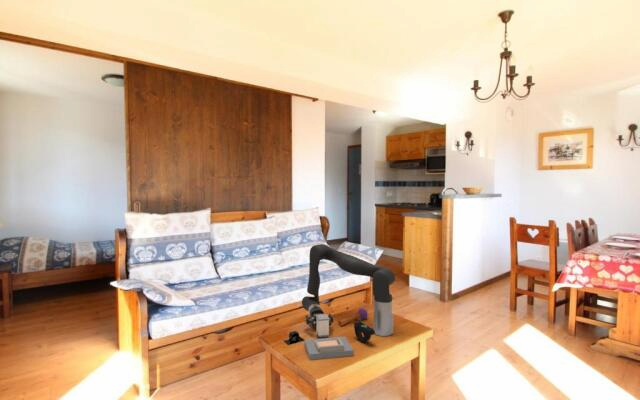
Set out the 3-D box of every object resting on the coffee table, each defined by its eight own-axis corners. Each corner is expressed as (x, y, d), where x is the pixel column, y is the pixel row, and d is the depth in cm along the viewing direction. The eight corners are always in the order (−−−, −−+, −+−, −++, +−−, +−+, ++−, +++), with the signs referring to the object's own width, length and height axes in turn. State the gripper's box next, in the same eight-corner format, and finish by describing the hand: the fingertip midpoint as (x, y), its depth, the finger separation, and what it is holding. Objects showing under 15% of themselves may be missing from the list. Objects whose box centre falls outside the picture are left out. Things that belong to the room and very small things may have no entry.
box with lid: (326, 334, 172) (326, 313, 172) (329, 340, 166) (329, 318, 165) (315, 335, 171) (316, 314, 171) (318, 341, 165) (318, 319, 164)
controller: (358, 336, 171) (358, 316, 170) (376, 345, 161) (376, 325, 160) (352, 338, 168) (352, 318, 168) (369, 348, 158) (369, 327, 158)
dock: (345, 341, 165) (345, 331, 164) (353, 355, 151) (353, 344, 151) (304, 345, 161) (304, 334, 160) (309, 360, 147) (309, 348, 147)
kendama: (335, 317, 185) (361, 306, 197) (337, 328, 185) (363, 316, 197) (342, 318, 181) (368, 307, 193) (344, 329, 180) (370, 318, 192)
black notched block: (286, 347, 159) (286, 338, 159) (279, 341, 165) (279, 332, 165) (308, 341, 166) (308, 332, 166) (301, 335, 172) (301, 326, 172)
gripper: (303, 307, 184) (308, 318, 168) (328, 305, 187) (335, 316, 171) (303, 320, 184) (308, 333, 168) (328, 318, 187) (335, 330, 171)
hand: (322, 324), depth 170 cm, fingers open, 8 cm apart
